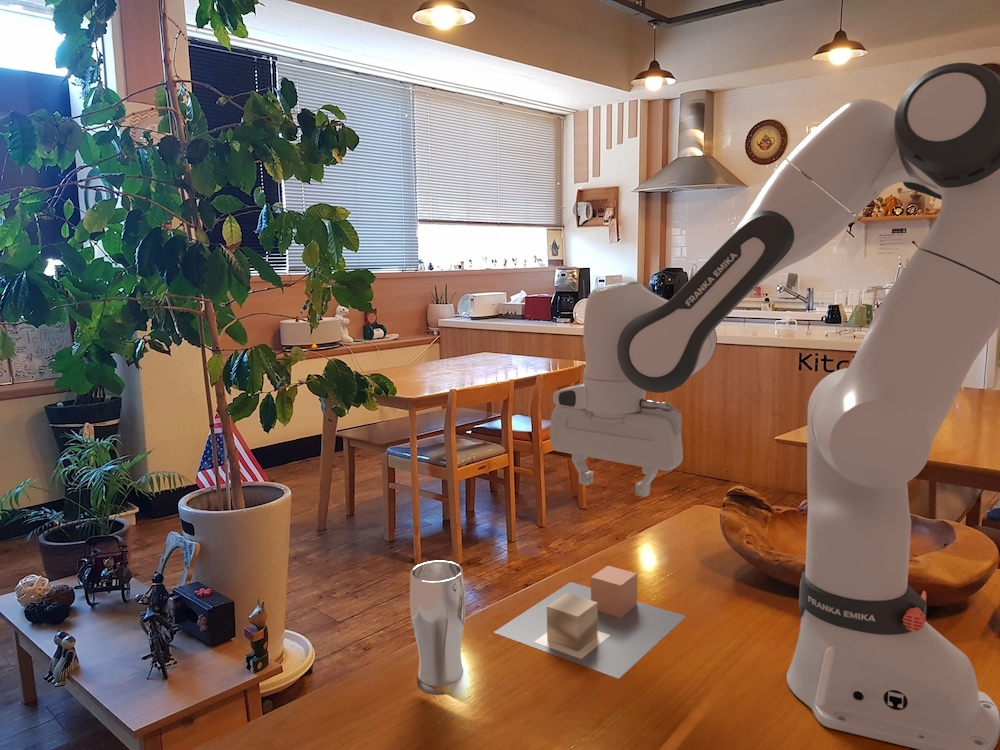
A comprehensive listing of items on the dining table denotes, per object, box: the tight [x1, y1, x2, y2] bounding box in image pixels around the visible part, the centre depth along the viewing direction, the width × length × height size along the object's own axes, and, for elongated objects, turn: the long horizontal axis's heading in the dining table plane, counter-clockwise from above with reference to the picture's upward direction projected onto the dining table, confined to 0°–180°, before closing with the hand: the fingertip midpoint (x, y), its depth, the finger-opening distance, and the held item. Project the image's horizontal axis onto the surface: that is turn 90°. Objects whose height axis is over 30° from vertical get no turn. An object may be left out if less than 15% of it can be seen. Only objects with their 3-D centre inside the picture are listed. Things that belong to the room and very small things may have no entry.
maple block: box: [547, 593, 598, 651], centre depth 103 cm, size 5×5×5 cm
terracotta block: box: [590, 565, 638, 618], centre depth 112 cm, size 5×5×5 cm
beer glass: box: [409, 560, 467, 696], centre depth 94 cm, size 7×7×15 cm
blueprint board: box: [493, 581, 687, 680], centre depth 107 cm, size 20×20×1 cm
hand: (613, 489), depth 109 cm, fingers open, 8 cm apart
